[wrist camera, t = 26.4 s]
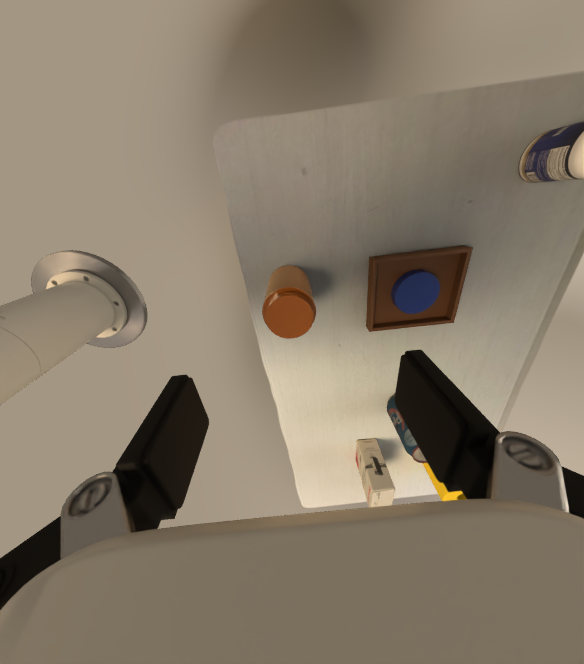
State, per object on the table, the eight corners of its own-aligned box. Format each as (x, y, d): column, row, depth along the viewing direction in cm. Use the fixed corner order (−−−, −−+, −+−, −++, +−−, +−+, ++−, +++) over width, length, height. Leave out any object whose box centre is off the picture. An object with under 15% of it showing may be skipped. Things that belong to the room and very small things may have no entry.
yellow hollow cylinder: (439, 441, 58) (464, 481, 50) (469, 450, 60) (498, 490, 52) (414, 463, 62) (433, 503, 54) (443, 471, 65) (466, 510, 56)
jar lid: (437, 299, 39) (442, 303, 37) (396, 315, 40) (400, 320, 39) (430, 261, 36) (436, 264, 34) (386, 280, 37) (390, 284, 36)
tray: (366, 326, 42) (369, 331, 40) (369, 257, 36) (373, 259, 34) (447, 317, 41) (453, 322, 39) (464, 245, 35) (472, 247, 33)
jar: (273, 307, 40) (268, 345, 29) (264, 269, 36) (254, 296, 26) (311, 301, 39) (320, 337, 29) (306, 261, 36) (313, 286, 26)
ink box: (374, 458, 61) (391, 511, 51) (355, 460, 61) (369, 512, 51) (376, 437, 57) (396, 490, 47) (356, 439, 57) (371, 492, 47)
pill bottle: (566, 121, 28) (686, 87, 20) (561, 170, 31) (666, 159, 22) (517, 144, 29) (611, 121, 21) (516, 190, 32) (600, 186, 23)
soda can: (380, 397, 50) (404, 449, 40) (412, 385, 49) (446, 436, 38) (389, 416, 53) (414, 469, 43) (420, 406, 52) (453, 458, 41)
